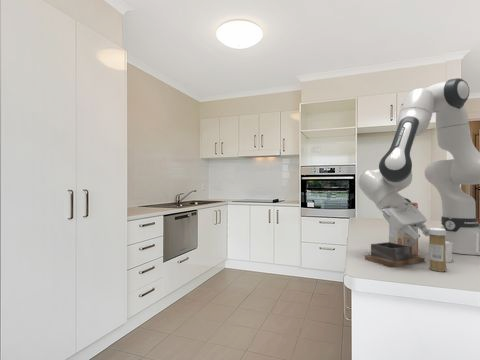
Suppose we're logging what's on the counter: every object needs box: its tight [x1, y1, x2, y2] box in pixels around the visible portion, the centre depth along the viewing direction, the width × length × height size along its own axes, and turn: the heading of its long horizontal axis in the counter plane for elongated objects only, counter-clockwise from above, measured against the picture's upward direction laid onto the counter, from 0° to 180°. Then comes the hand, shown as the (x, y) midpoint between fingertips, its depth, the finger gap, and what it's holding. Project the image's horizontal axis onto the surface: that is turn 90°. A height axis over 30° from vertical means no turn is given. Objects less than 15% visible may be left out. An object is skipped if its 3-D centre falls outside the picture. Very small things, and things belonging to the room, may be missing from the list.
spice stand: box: [364, 241, 426, 268], centre depth 101 cm, size 17×11×6 cm, turn 112°
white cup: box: [445, 241, 453, 264], centre depth 101 cm, size 7×7×7 cm
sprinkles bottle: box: [428, 227, 448, 273], centre depth 90 cm, size 5×5×14 cm
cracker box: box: [388, 202, 419, 256], centre depth 116 cm, size 14×6×21 cm, turn 173°
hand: (423, 236), depth 93 cm, fingers open, 8 cm apart
